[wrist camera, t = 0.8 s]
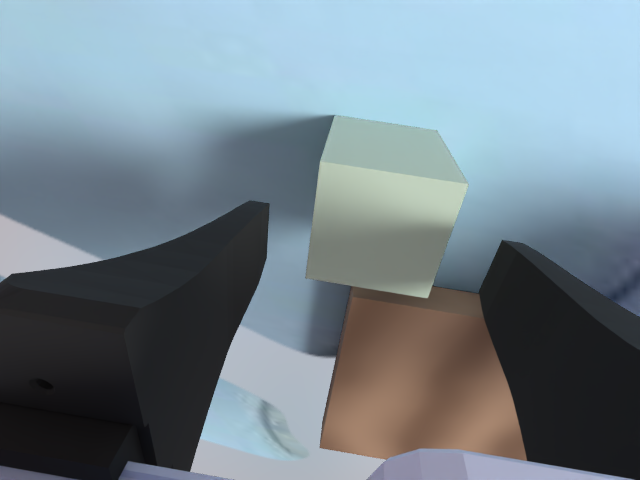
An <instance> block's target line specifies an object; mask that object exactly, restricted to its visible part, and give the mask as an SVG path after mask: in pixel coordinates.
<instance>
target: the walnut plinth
mask: <svg viewBox="0 0 640 480" xmlns="http://www.w3.org/2000/svg"><path fill="white" fill-rule="evenodd" d="M320 448H323V449H329V450H335V451H341V452H347V453H352V454H357V455H364V456H368V457H374V458H380V459H386V460H387V459H388V458H390V457H393V456H397V455H400V454H403V453H407V452H410V451H413V450H417V449H459V450H465V451H471V452H476V453H482V454H488V455H494V456H500V457H506V458H512V459H517V460H523V461H527V458H526V453H525V449H524V444H523V439H522V435H521V430H520V426H519V422H518V418H517V414H516V410H515V406H514V402H513V398H512V395H511V392H510V389H509V386H508V383H507V380H506V377H505V375H504V372H503V369H502V367H501V364H500V361H499V359H498V356H497V353H496V351H495V348H494V346H493V343H492V340H491V337H490V335H489V332H488V329H487V326H486V323H485V320H484V316H483V312H482V307H481V302H480V296H479V294H477V293H471V292H465V291H459V290H453V289H447V288H440V287H434V286H432V288H431V291H430V293H429V296H428V298H422V297H416V296H410V295H404V294H398V293H392V292H386V291H379V290H373V289H367V288H361V287H355V286H351V290H350V294H349V299H348V304H347V308H346V313H345V318H344V323H343V327H342V332H341V337H340V341H339V346H338V351H337V356H336V360H335V365H334V370H333V374H332V380H331V384H330V389H329V394H328V398H327V403H326V408H325V413H324V417H323V422H322V431H321V440H320Z"/></svg>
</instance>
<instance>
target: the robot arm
mask: <svg viewBox="0 0 640 480" xmlns="http://www.w3.org/2000/svg"><path fill="white" fill-rule="evenodd" d="M268 221H269V203H263V202H256V201H248V202H246V203H244V204H242V205H241V206H239V207H237V208H235V209H234V210H232V211H230V212H228V213H227V214H225V215H223V216H221V217H220V218H218V219H216V220H214V221H212V222H211V223H208V224H206V225H204V226H202V227H200V228H198V229H196V230H194V231H192V232H190V233H188V234H186V235H184V236H181V237H179V238H176V239H174V240H171V241H169V242H166V243H163V244H161V245H158V246H155V247H152V248H149V249H145V250H142V251H138V252H135V253H131V254H127V255H124V256H120V257H116V258H112V259H108V260H103V261H98V262H94V263H89V264H83V265H77V266H72V267H65V268H58V269H50V270H41V271H33V272H26V273H16V274H11V275H10V276H9V277H7V278H6V279H5V280H3V281H2V282H1V283H0V480H232V479H227V478H221V477H216V476H209V475H204V474H198V473H192V472H190V470H191V466H192V463H193V459H194V456H195V452H196V449H197V446H198V442H199V439H200V436H201V433H202V429H203V426H204V423H205V420H206V416H207V413H208V410H209V407H210V404H211V400H212V397H213V394H214V391H215V388H216V385H217V382H218V379H219V376H220V373H221V370H222V367H223V364H224V361H225V358H226V355H227V352H228V350H229V347H230V345H231V342H232V340H233V337H234V335H235V333H236V331H237V329H238V327H239V325H240V323H241V320H242V318H243V316H244V314H245V312H246V310H247V308H248V305H249V303H250V301H251V299H252V297H253V295H254V293H255V290H256V288H257V286H258V284H259V281H260V278H261V275H262V271H263V268H264V265H265V261H266V258H267V239H268ZM479 296H480V302H481V307H482V312H483V316H484V320H485V323H486V326H487V329H488V332H489V335H490V337H491V340H492V343H493V346H494V348H495V351H496V353H497V356H498V359H499V361H500V364H501V367H502V369H503V372H504V375H505V377H506V380H507V383H508V386H509V389H510V392H511V395H512V398H513V402H514V406H515V410H516V414H517V418H518V422H519V426H520V430H521V435H522V439H523V444H524V449H525V453H526V458H527V461H523V460H517V459H512V458H506V457H500V456H494V455H488V454H482V453H476V452H471V451H465V450H459V449H417V450H413V451H410V452H407V453H403V454H400V455H397V456H393V457H390V458H388V459H387V460H386V461H385V462H383V464H381V466H379V467H378V468H377V470H375V472H374V473H373V474H372V475H371V476H370V477H369V478H368V479H367V480H640V317H638V316H637V315H635V314H633V313H631V312H630V311H628V310H626V309H624V308H623V307H621V306H619V305H618V304H616V303H615V302H613V301H611V300H610V299H608V298H607V297H605V296H603V295H602V294H600V293H599V292H597V291H595V290H594V289H592V288H591V287H589V286H588V285H586V284H585V283H583V282H582V281H580V280H579V279H577V278H576V277H574V276H573V275H571V274H570V273H569V272H567V271H566V270H564V269H563V268H561V267H560V266H558V265H557V264H555V263H554V262H552V261H551V260H549V259H548V258H546V257H545V256H543V255H542V254H540V253H539V252H537V251H536V250H534V249H532V248H531V247H529V246H527V245H525V244H523V243H518V242H511V241H505V240H502V241H501V244H500V246H499V248H498V250H497V253H496V255H495V257H494V259H493V261H492V264H491V266H490V268H489V270H488V273H487V275H486V277H485V279H484V281H483V284H482V286H481V288H480V290H479Z"/></svg>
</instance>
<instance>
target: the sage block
mask: <svg viewBox="0 0 640 480" xmlns="http://www.w3.org/2000/svg"><path fill="white" fill-rule="evenodd" d="M468 185H469V184H468V182H467V180H466V179H465V177H464V175H463V174H462V172H461V170H460V168H459V167H458V165H457V163H456V162H455V160H454V158H453V157H452V155H451V153H450V151H449V150H448V148H447V146H446V145H445V143H444V141H443V139H442V138H441V136H440V134H439V133H438V131H437V130H431V129H425V128H418V127H411V126H405V125H398V124H392V123H385V122H378V121H372V120H365V119H358V118H352V117H345V116H339V115H335V116H334V119H333V122H332V125H331V129H330V132H329V135H328V138H327V141H326V144H325V147H324V150H323V154H322V157H321V160H320V166H319V174H318V182H317V189H316V197H315V205H314V213H313V221H312V229H311V237H310V245H309V253H308V261H307V269H306V277H305V278H306V279H313V280H319V281H325V282H331V283H337V284H343V285H349V286H355V287H361V288H367V289H373V290H379V291H386V292H392V293H398V294H404V295H410V296H416V297H422V298H428V296H429V293H430V291H431V288H432V285H433V282H434V280H435V277H436V274H437V271H438V268H439V266H440V263H441V260H442V257H443V255H444V252H445V249H446V246H447V243H448V241H449V238H450V235H451V232H452V230H453V227H454V224H455V221H456V219H457V216H458V213H459V210H460V207H461V205H462V202H463V199H464V196H465V194H466V191H467V188H468Z"/></svg>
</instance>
